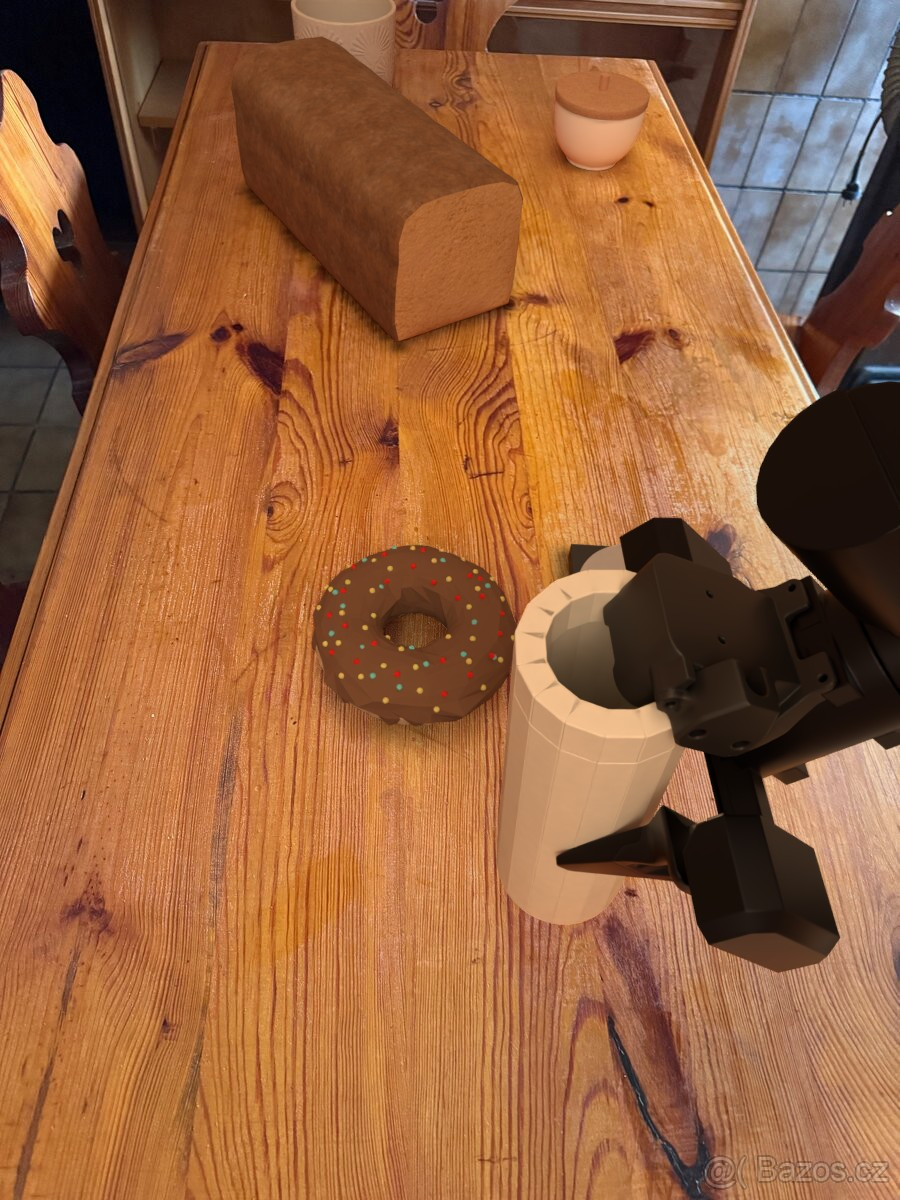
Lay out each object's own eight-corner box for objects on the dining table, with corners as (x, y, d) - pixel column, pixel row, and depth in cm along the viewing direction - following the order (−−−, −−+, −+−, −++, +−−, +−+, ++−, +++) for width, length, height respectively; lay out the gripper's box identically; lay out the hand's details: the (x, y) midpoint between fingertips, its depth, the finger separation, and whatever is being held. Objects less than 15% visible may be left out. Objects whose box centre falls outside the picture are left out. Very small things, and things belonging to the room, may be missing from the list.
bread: (393, 350, 82) (393, 201, 71) (239, 185, 99) (219, 44, 88) (517, 308, 87) (535, 162, 76) (350, 158, 104) (344, 21, 93)
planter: (368, 74, 119) (366, -22, 110) (413, 112, 112) (414, 14, 104) (282, 90, 114) (273, -8, 106) (324, 130, 108) (318, 30, 100)
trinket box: (566, 130, 111) (578, 47, 104) (647, 152, 109) (665, 68, 101) (532, 165, 105) (543, 80, 98) (617, 189, 103) (634, 103, 95)
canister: (646, 894, 48) (755, 694, 30) (529, 946, 47) (570, 767, 29) (587, 783, 52) (652, 546, 34) (476, 827, 50) (484, 603, 32)
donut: (291, 604, 63) (284, 559, 59) (469, 558, 67) (474, 512, 63) (350, 776, 55) (347, 736, 51) (549, 713, 59) (560, 671, 55)
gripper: (723, 360, 34) (428, 551, 42) (887, 822, 22) (436, 961, 30) (845, 506, 40) (569, 647, 48) (1020, 920, 29) (620, 1014, 37)
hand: (552, 785), depth 41 cm, fingers closed on canister, 7 cm apart
